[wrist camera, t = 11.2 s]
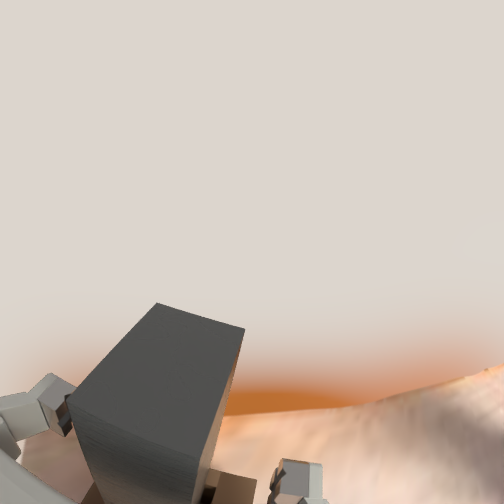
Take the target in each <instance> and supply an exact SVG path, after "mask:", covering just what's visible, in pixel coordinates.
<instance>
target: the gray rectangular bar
mask: <svg viewBox="0 0 504 504" xmlns="http://www.w3.org/2000/svg"><path fill="white" fill-rule="evenodd" d="M244 332H245V329H244V328H240V327H236V326H232V325H229V324H226V323H222V322H218V321H215V320H212V319H208V318H205V317H201V316H198V315H195V314H191V313H188V312H185V311H182V310H178V309H175V308H172V307H169V306H166V305H163V304H160V303H156V304H155V305H154V306H153V307H152V308H151V309H150V310H149V311H148V312H147V314H146V315H145V316H144V317H143V318H142V319H141V320H140V321H139V322H138V323H137V324H136V325H135V326H134V327H133V328H132V329H131V330H130V331H129V332H128V333H127V334H126V335H125V337H124V338H123V339H122V340H121V341H120V342H119V343H118V344H117V345H116V346H115V347H114V348H113V349H112V350H111V351H110V352H109V354H108V355H107V356H106V357H105V358H104V359H103V360H102V361H101V362H100V363H99V364H98V365H97V367H96V368H95V369H94V370H93V371H92V372H91V373H90V374H89V375H88V376H87V377H86V379H85V380H84V381H83V382H82V383H81V384H80V385H79V386H78V387H77V388H76V389H75V391H74V392H73V393H72V394H71V395H70V396H69V397H68V398H67V399H66V402H67V406H68V409H69V413H70V416H71V419H72V422H73V426H74V429H75V432H76V435H77V438H78V440H79V443H80V446H81V449H82V451H83V454H84V457H85V459H86V462H87V464H88V467H89V469H90V472H91V474H92V476H93V479H94V481H95V483H96V485H97V488H98V490H99V492H100V494H101V496H102V498H103V500H104V502H105V504H200V502H201V498H202V494H203V491H204V487H205V483H206V480H207V476H208V472H209V468H210V465H211V461H212V457H213V453H214V450H215V446H216V442H217V438H218V434H219V430H220V427H221V423H222V419H223V415H224V411H225V407H226V403H227V399H228V396H229V392H230V388H231V384H232V380H233V376H234V372H235V368H236V364H237V360H238V356H239V352H240V348H241V344H242V340H243V336H244Z"/></svg>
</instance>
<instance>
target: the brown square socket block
mask: <svg viewBox="0 0 504 504" xmlns="http://www.w3.org/2000/svg"><path fill="white" fill-rule="evenodd" d="M256 483H257V480H256V479H251V478H246V477H242V476H237V475H233V474H229V473H225V472H221V471H218V470H214V469H210V468H209V472H208V476H207V480H206V483H205V487H204V491H203V494H202V498H201V502H200V504H253V499H254V494H255V488H256ZM81 504H105V502H104V500H103V498H102V496H101V494H100V492H99V490H98V488H97V485H96V483H95V481H94V483H93V485H92V486H91V488H90V489H89V491H88V493H87V494H86V496H85V498H84V499H83V501H82V503H81Z"/></svg>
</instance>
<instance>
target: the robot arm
mask: <svg viewBox="0 0 504 504" xmlns="http://www.w3.org/2000/svg"><path fill="white" fill-rule="evenodd" d="M76 388H77V387H75V386H73V385H71V384H69V383H68V382H66V381H64V380H62V379H61V378H59V377H58V376H56V375H54V374H53V373H49V374H47V375H46V376H45V377H44V378H43V379H42V380H41V381H40V382H39V383H38V384H37V385H36V386H35V387H33V389H31V390H30V391H29V392H28V393H26V392H22V393H17V394H13V395H9V396H3V397H0V504H78V503H77V502H75V501H73V500H72V499H70V498H68V497H66V496H65V495H63V494H62V493H60V492H58V491H57V490H55V489H54V488H52V487H51V486H49V485H48V484H46V483H45V482H43V481H42V480H40V479H39V478H38V477H36V476H35V475H33V474H32V473H31V472H29V471H28V470H27V469H25V468H24V467H23V466H21V465H20V464H19V463H17V462H16V461H15V460H16V459H17V458H18V457H19V455H20V454H21V450H20V448H19V446H18V445H17V443H16V442H17V441H19V440H23V439H25V438H28V437H31V436H33V435H36V434H38V433H41V432H43V431H46V430H49V428H50V429H51V430H53V431H55V432H56V433H58V434H60V435H62V436H63V437H66V435H67V434H68V433H69V432H70V430H71V429H72V428H73V425H72V419H71V416H70V413H69V409H68V406H67V402H66V399H67V398H68V397H69V396H70V395H71V394H72V393H73V392H74V391H75V389H76ZM270 490H271V491H272V492H271V494H270V495H269V497H268V501H267V504H329V502H328V501H327V500H326V499H322V498H323V467H322V464H319V463H310V462H305V461H297V460H290V459H284V458H282V459H281V460H280V462H279V467H278V468H276V469H275V471H274V472H273V475H272V478H271V482H270Z"/></svg>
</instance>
